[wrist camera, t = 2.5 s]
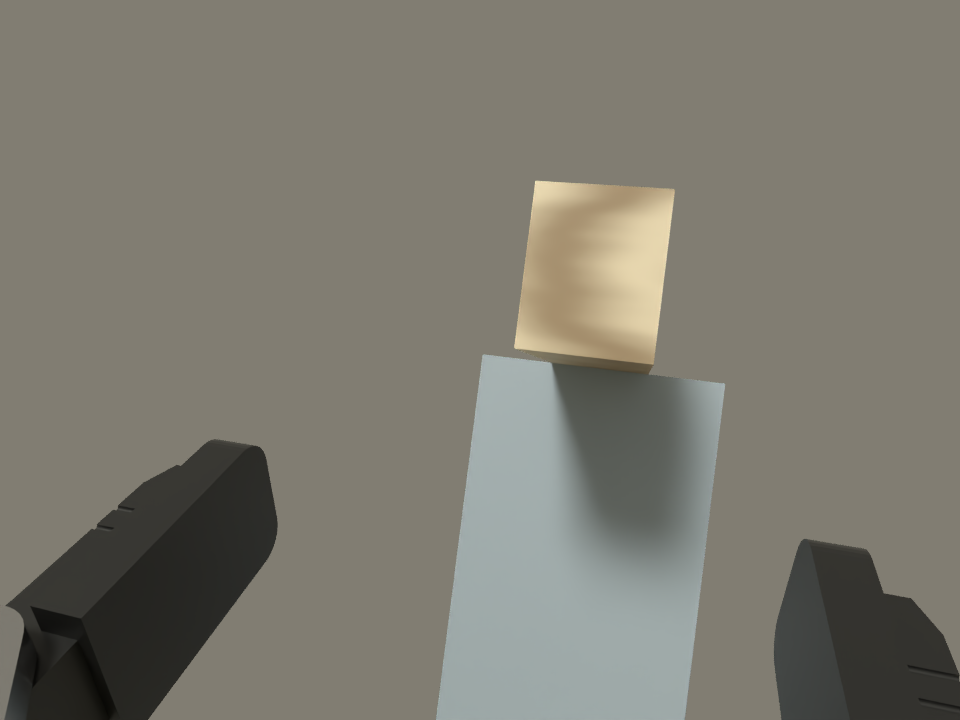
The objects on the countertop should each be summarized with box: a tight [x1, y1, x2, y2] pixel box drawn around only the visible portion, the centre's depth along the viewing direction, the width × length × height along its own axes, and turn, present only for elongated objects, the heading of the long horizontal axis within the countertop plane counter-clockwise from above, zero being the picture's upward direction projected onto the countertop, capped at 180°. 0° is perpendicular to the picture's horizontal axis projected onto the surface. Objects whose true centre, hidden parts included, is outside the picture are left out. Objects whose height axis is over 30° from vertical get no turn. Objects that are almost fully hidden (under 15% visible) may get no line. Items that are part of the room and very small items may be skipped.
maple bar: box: [514, 181, 675, 374], centre depth 31 cm, size 4×24×5 cm, turn 167°
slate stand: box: [436, 355, 725, 720], centre depth 34 cm, size 10×12×32 cm
